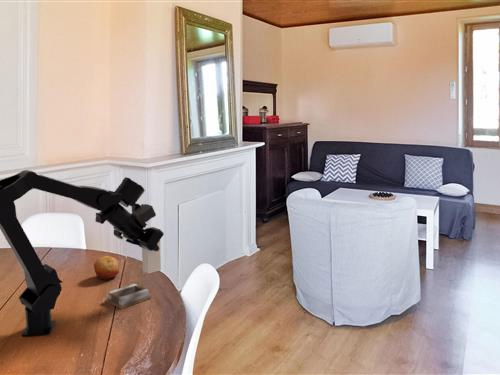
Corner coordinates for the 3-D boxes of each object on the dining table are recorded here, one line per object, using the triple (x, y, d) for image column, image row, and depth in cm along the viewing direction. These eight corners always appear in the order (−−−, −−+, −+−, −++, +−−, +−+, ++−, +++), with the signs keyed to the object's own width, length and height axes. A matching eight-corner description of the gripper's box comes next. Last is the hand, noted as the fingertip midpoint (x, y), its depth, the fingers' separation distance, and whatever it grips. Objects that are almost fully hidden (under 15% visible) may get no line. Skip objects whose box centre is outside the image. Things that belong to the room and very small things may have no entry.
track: (120, 309, 122) (120, 300, 122) (106, 300, 128) (105, 291, 127) (151, 298, 129) (150, 290, 129) (136, 290, 135) (135, 282, 134)
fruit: (107, 265, 152) (113, 249, 148) (119, 281, 148) (125, 265, 145) (85, 272, 146) (91, 255, 142) (97, 289, 142) (104, 272, 138)
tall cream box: (148, 273, 131) (147, 234, 129) (142, 271, 133) (141, 232, 131) (160, 269, 134) (160, 232, 132) (155, 267, 136) (154, 230, 134)
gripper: (157, 201, 120) (189, 233, 130) (121, 192, 133) (152, 222, 143) (132, 234, 116) (167, 264, 126) (98, 222, 128) (132, 250, 138)
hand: (155, 248), depth 133 cm, fingers closed on tall cream box, 3 cm apart
